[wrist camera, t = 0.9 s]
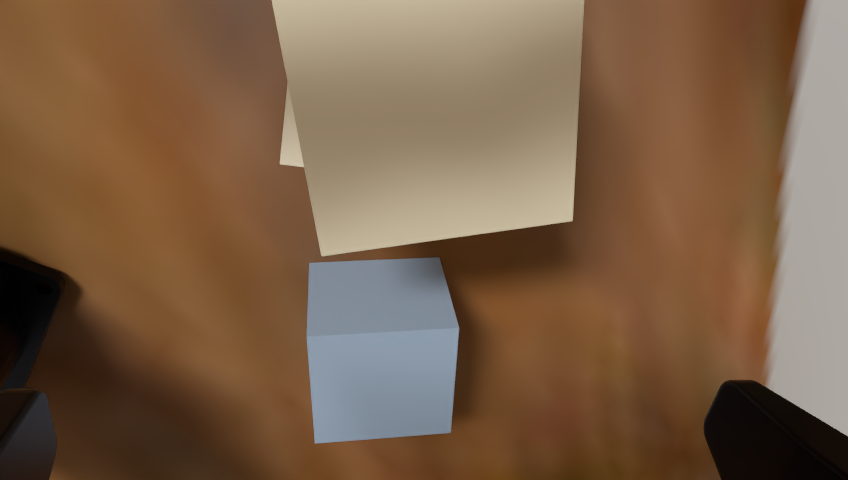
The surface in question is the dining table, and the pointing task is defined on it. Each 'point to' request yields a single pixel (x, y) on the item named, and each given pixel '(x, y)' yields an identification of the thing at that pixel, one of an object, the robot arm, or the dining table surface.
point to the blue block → (380, 349)
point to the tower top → (433, 115)
